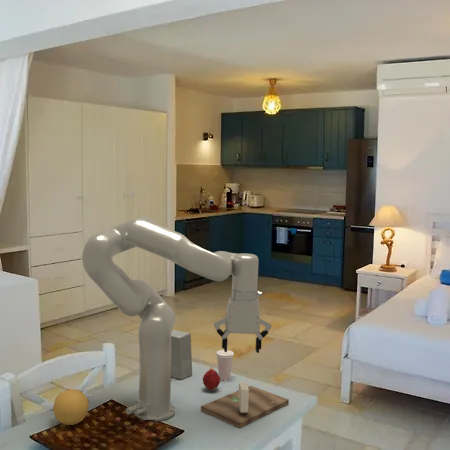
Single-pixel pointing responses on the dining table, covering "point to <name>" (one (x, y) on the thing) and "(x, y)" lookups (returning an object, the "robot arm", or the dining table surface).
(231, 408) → the wooden cutting board
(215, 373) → the onion
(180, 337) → the skincare box
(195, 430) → the dining table surface
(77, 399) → the stress ball
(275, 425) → the dining table surface
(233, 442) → the dining table surface
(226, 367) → the smoothie
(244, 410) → the cheese with knife
